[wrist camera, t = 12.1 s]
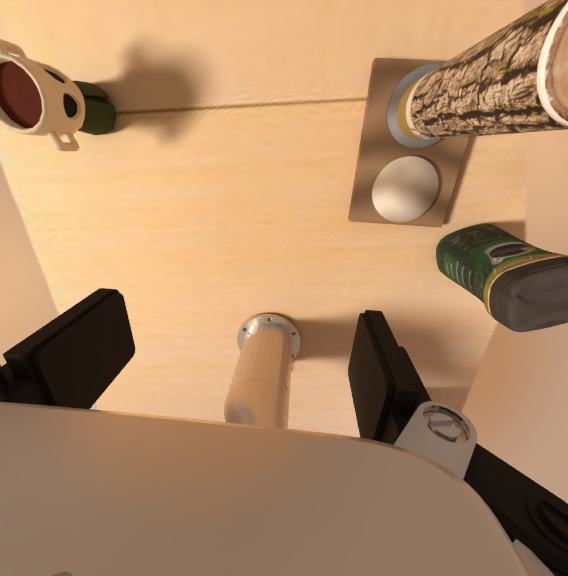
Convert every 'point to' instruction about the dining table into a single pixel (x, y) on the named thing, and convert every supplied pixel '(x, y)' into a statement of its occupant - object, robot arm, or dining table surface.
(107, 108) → the character mug
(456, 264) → the coffee jar
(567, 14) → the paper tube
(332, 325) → the dining table surface
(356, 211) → the board
